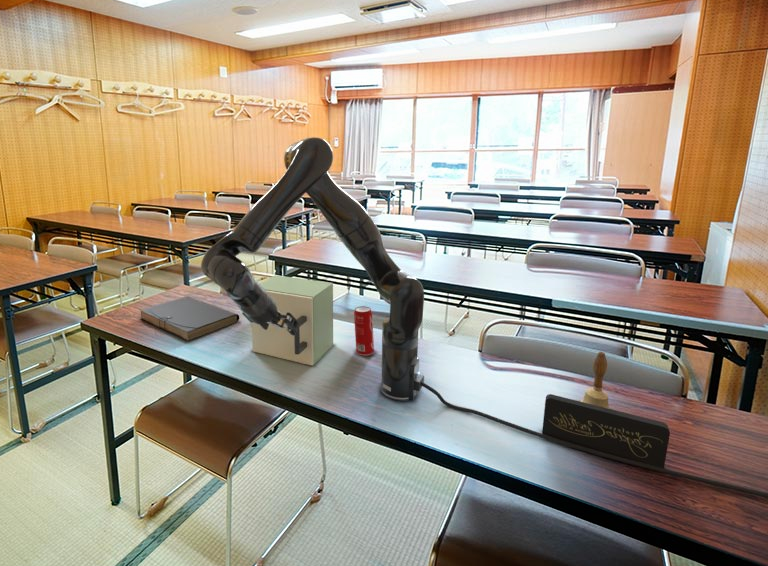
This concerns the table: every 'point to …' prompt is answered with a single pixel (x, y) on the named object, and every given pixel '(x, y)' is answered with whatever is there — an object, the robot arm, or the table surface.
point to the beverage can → (364, 330)
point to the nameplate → (606, 430)
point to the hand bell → (597, 384)
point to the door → (280, 339)
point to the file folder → (188, 317)
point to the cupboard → (321, 306)
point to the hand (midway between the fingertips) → (280, 329)
